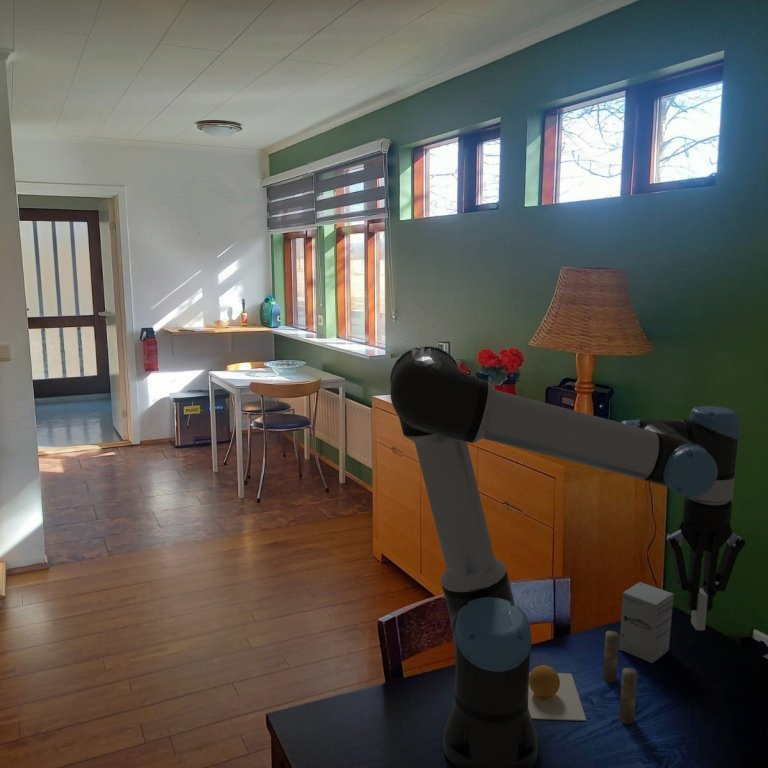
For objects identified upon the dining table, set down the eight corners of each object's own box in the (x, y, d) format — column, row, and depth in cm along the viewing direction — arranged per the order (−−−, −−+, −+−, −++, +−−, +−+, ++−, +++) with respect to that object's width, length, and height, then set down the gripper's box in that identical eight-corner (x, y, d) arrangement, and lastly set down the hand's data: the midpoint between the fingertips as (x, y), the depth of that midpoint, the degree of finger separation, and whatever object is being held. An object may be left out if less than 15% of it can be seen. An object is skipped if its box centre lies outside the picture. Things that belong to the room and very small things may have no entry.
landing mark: (503, 718, 128) (503, 717, 128) (496, 672, 141) (496, 671, 141) (586, 721, 127) (586, 719, 127) (571, 674, 141) (571, 673, 140)
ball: (547, 670, 130) (568, 691, 131) (543, 653, 136) (563, 673, 136) (524, 689, 131) (545, 710, 132) (520, 671, 137) (541, 692, 137)
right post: (621, 723, 126) (624, 675, 124) (617, 715, 128) (620, 667, 127) (635, 724, 126) (638, 676, 124) (632, 715, 128) (635, 668, 127)
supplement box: (617, 650, 149) (621, 591, 147) (636, 637, 154) (640, 580, 152) (652, 665, 144) (656, 604, 141) (670, 651, 149) (674, 592, 146)
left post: (604, 681, 138) (607, 637, 137) (601, 674, 141) (604, 630, 139) (617, 682, 138) (620, 637, 136) (614, 674, 140) (617, 631, 139)
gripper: (738, 491, 129) (727, 616, 133) (662, 489, 130) (653, 614, 134) (757, 506, 121) (744, 638, 126) (676, 504, 122) (666, 636, 126)
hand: (697, 626), depth 130 cm, fingers closed
